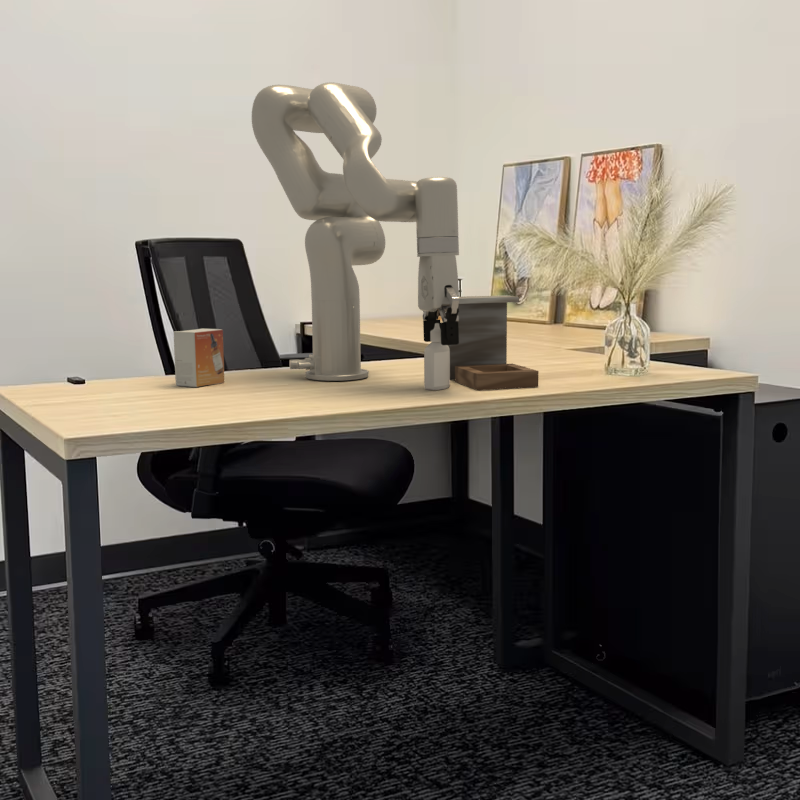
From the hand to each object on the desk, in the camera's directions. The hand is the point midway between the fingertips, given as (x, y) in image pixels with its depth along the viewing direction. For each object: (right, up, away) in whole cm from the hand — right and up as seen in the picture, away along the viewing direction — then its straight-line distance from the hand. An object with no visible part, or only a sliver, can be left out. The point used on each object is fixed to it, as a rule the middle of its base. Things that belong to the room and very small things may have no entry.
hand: (440, 342), depth 176 cm
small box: (-46, -8, +10) cm, 48 cm away
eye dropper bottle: (-1, -8, +2) cm, 9 cm away
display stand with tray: (+10, -7, +9) cm, 15 cm away
